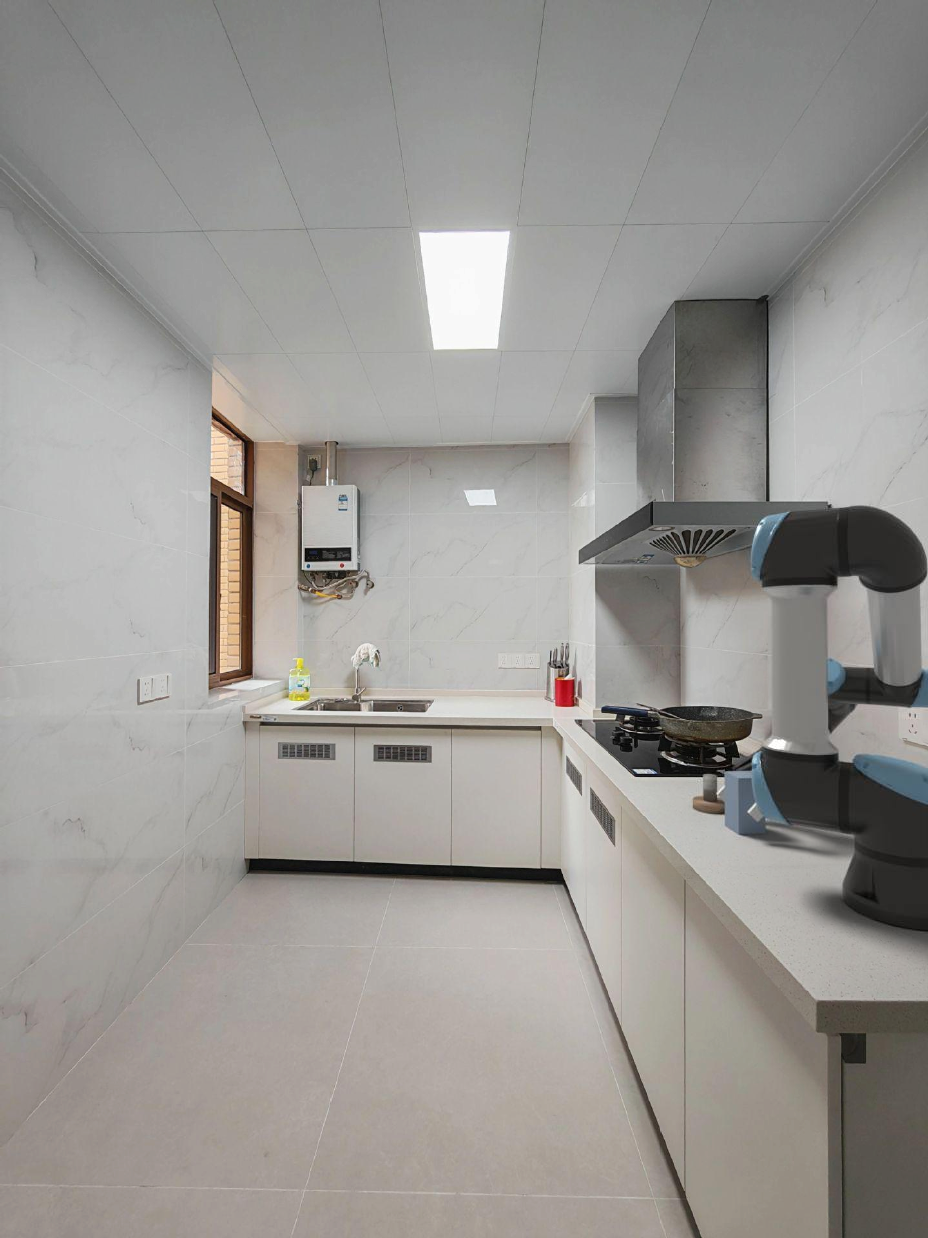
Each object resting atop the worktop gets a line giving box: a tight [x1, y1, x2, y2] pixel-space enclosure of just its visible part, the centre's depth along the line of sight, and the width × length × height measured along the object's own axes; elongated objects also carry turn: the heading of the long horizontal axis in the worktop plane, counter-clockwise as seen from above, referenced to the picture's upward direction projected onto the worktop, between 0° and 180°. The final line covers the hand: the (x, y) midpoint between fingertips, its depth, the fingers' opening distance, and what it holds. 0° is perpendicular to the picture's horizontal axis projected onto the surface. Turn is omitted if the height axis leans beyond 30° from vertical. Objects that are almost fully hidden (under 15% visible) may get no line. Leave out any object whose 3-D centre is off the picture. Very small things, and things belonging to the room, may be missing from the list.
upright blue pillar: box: [723, 770, 767, 835], centre depth 136 cm, size 6×6×12 cm
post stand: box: [692, 773, 725, 815], centre depth 151 cm, size 8×8×8 cm
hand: (735, 807), depth 136 cm, fingers open, 13 cm apart
